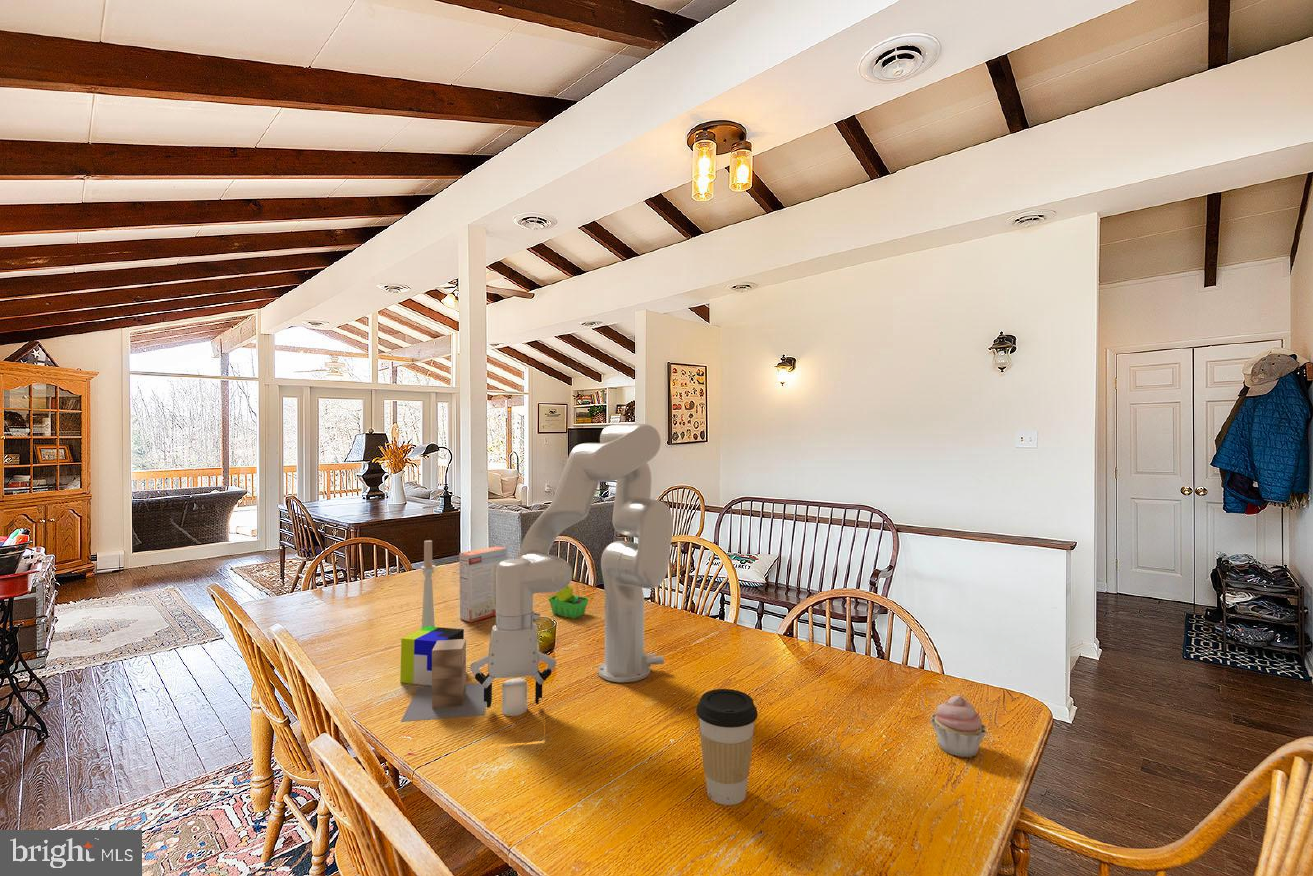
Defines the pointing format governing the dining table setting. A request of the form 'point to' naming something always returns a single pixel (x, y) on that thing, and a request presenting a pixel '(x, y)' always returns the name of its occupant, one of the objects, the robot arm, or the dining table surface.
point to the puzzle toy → (422, 653)
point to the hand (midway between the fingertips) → (513, 702)
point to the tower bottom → (448, 691)
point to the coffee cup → (726, 743)
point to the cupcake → (958, 727)
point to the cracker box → (479, 582)
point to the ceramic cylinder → (514, 697)
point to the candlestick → (428, 587)
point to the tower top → (449, 659)
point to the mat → (423, 707)
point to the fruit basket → (568, 603)
